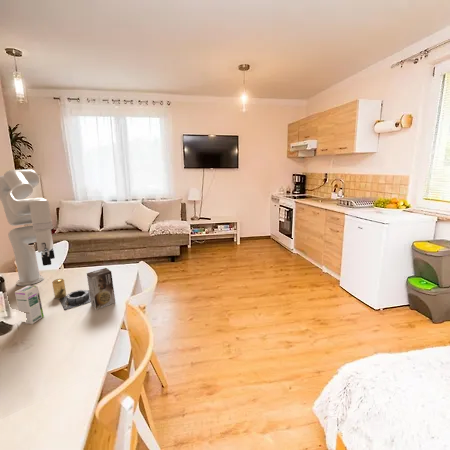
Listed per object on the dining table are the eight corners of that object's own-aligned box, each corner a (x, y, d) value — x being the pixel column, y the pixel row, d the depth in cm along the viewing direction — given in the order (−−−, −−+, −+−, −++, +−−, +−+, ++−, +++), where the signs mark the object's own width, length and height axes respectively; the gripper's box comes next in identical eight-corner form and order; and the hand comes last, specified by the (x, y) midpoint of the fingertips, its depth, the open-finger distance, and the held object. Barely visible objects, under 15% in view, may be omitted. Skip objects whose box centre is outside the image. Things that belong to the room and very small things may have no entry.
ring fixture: (59, 298, 133) (58, 293, 132) (90, 290, 141) (89, 285, 141) (64, 310, 122) (63, 304, 122) (97, 300, 131) (96, 294, 130)
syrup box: (32, 324, 112) (26, 292, 108) (20, 323, 113) (14, 291, 110) (44, 316, 117) (38, 285, 114) (32, 315, 118) (26, 285, 115)
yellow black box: (54, 296, 136) (51, 280, 134) (65, 292, 139) (62, 277, 137) (55, 299, 132) (52, 283, 130) (67, 296, 135) (64, 280, 134)
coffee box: (110, 298, 132) (106, 267, 129) (115, 302, 128) (112, 270, 124) (90, 305, 126) (86, 272, 123) (95, 310, 122) (91, 276, 118)
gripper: (37, 223, 130) (43, 257, 133) (28, 231, 114) (35, 269, 118) (55, 222, 133) (60, 255, 136) (49, 228, 117) (55, 266, 121)
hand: (49, 261), depth 127 cm, fingers open, 9 cm apart
